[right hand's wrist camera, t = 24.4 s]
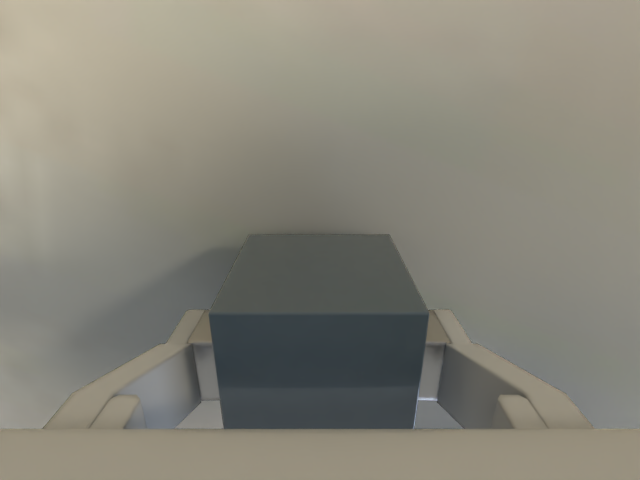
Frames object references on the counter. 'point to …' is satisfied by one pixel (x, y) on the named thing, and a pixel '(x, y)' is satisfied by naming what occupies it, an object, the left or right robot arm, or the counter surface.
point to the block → (319, 334)
